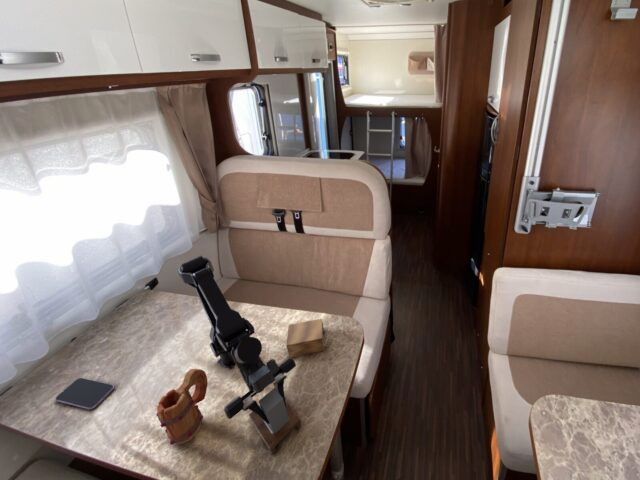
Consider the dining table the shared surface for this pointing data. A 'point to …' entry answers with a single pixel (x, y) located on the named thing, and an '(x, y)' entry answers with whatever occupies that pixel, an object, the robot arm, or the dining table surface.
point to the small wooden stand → (273, 439)
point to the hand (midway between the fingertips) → (277, 415)
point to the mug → (183, 408)
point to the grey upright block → (274, 410)
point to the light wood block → (305, 338)
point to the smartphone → (85, 393)
